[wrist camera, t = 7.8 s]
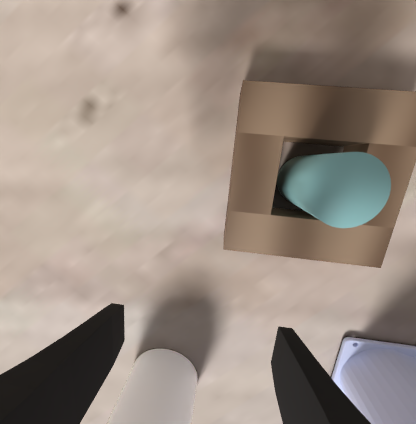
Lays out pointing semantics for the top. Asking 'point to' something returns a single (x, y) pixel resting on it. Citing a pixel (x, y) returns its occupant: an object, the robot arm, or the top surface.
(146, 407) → the pill bottle
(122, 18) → the top surface
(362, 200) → the dowel
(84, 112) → the top surface
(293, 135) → the socket block
